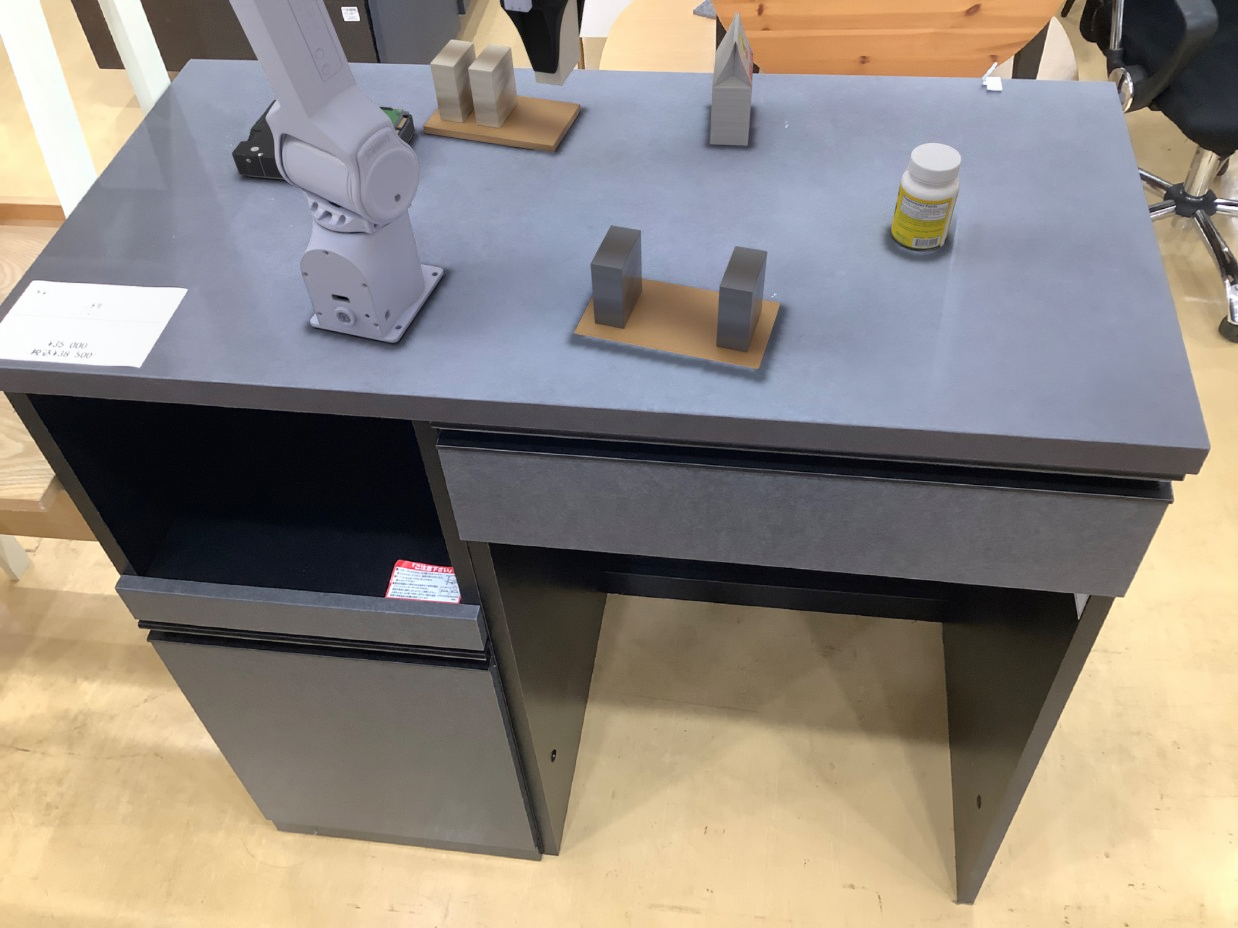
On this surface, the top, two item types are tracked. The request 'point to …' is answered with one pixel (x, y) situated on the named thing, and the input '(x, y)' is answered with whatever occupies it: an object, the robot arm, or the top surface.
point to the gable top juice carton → (732, 88)
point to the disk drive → (260, 147)
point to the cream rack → (492, 101)
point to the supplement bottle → (927, 197)
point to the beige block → (565, 48)
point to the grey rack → (679, 305)
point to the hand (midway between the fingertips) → (556, 56)
